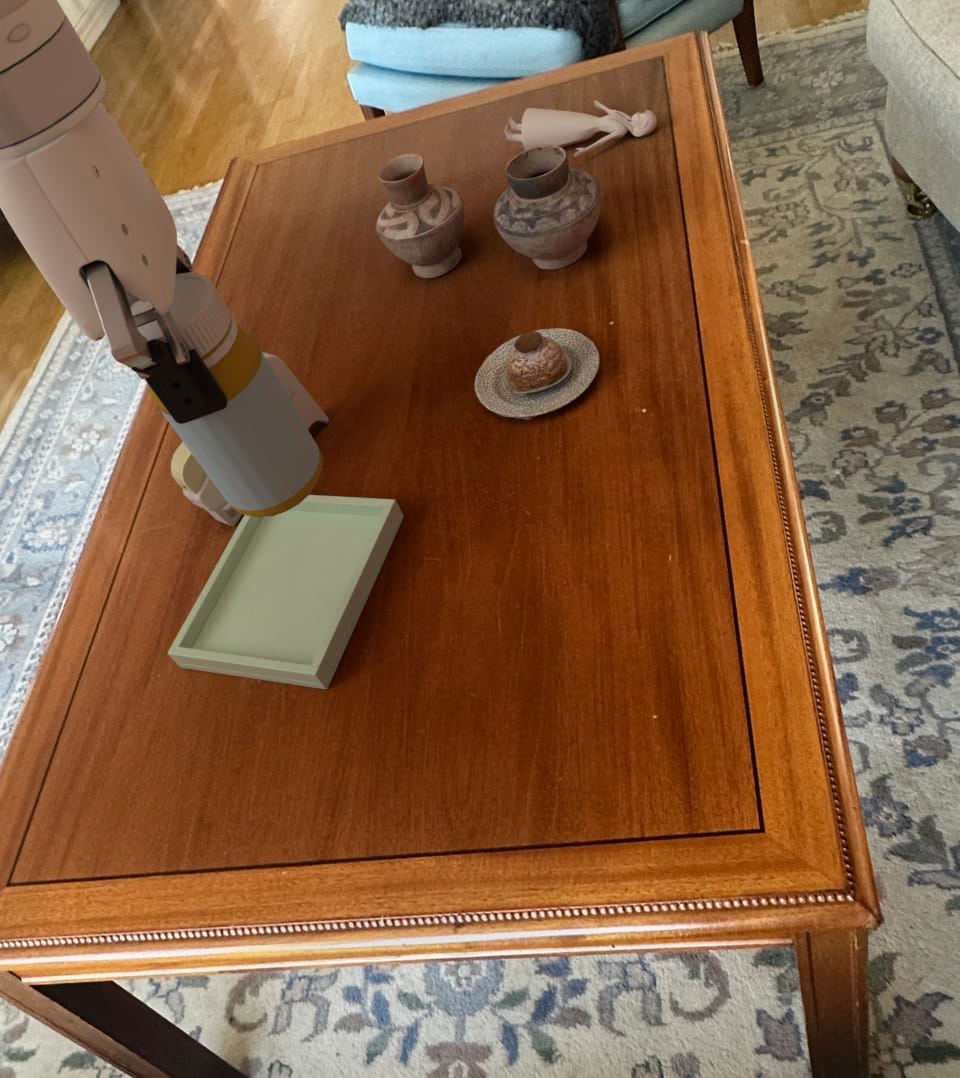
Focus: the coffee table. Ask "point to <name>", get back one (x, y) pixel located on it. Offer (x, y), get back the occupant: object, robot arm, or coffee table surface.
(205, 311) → the bottle
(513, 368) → the pastry
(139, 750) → the coffee table surface
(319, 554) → the tray
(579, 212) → the pottery
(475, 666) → the coffee table surface
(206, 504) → the light grey boxy piece
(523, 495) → the coffee table surface
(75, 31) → the robot arm
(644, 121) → the woman figurine
